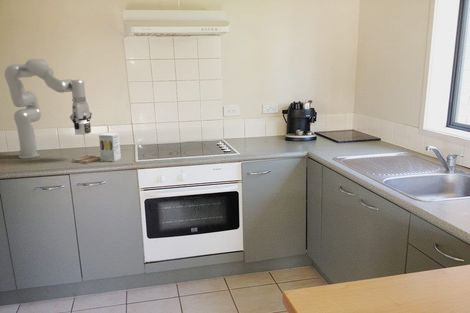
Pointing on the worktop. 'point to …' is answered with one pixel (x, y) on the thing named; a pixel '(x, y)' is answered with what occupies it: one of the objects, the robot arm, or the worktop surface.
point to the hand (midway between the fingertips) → (82, 127)
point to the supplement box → (109, 147)
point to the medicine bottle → (83, 127)
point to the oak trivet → (86, 159)
